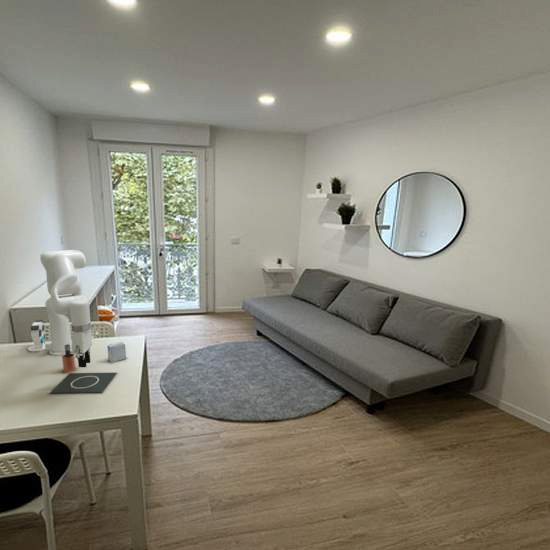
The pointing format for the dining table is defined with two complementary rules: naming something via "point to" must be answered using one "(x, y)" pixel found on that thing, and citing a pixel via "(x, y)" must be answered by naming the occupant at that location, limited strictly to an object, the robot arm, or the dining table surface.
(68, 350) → the cylinder
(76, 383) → the slate board
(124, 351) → the medicine box
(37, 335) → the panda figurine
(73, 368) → the pen cup
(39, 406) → the dining table surface
